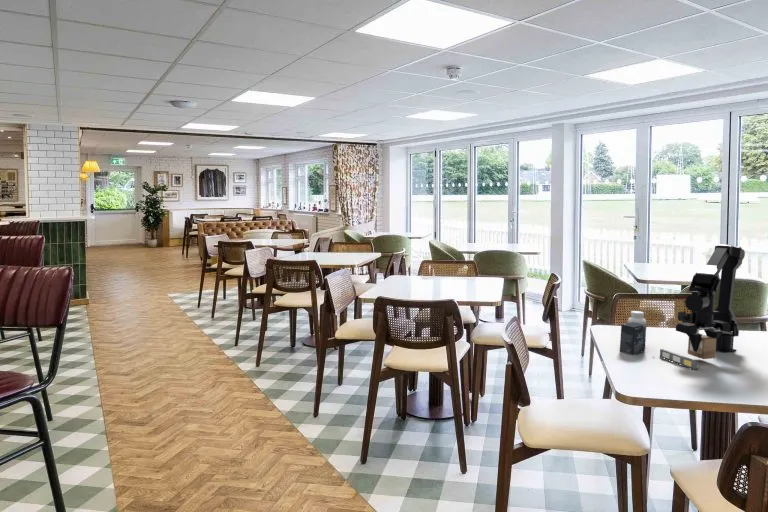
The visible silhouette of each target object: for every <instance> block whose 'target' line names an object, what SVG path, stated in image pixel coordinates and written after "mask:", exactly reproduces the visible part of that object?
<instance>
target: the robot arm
mask: <svg viewBox="0 0 768 512" xmlns="http://www.w3.org/2000/svg"><path fill="white" fill-rule="evenodd" d="M745 255H746V250H745V249H743V248H742V247H741V246H734V245H730V244H724V243H723V244H720V243H718V244H716V245H715V247H714V251H713V253H712V254H711V256H710V257H709V260H708V261H707V263H706V264H705V266H703V267H701V268H700V267H699V269H698V270H697V271H696V272H695V273H694V275H693V276H692V279H691V282H690V285H689V288H688V291H689V292H691V294H690V295H688V296H686V298H685V301H684V303H685V307H686V308H687V309H688V310H689V311H690V313H687V312H686V311H679V312H678V314H677V319H678V321H679V322H677V323H676V325H675V331H676V332H679V333H683V334H684V335H687V337H688V340H689V339H690V341H691V344H692V347H693V350H694V351H695V352H697V350H698V347H699V344H700V340H701V336H702V335H703V334H702V333H700V331H702V330H704V333H705V335H706V336H709V337H713V338H716V351H718V352H722V353H729V352H731V353H732V352H737V349H736V348H734V337H739V335H740V328H739V324H738V322H737V315H736V313H735V312H734V311H733V310H734V309H733V302H734V301H733V300H734V292H735V282H736V274H737V273H736V272H737V270H738V269H739V268H740V266H741V265H742V264H743V260H744V259H745ZM720 272H721V274H720ZM719 274H720V275H719ZM718 289H719V291H718ZM716 292H718V301H717V307H716V308H715V294H716Z"/></svg>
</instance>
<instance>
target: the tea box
mask: <svg viewBox="0 0 768 512" xmlns="http://www.w3.org/2000/svg"><path fill="white" fill-rule="evenodd" d="M687 345H688V346H687V354H688V355H690V356H693V357H696V358H698V359H702V360H710V359H715V358H716V351H717V350H716V338H713V337H709V336H706V334H702V336H701V340H700V344H699V347H698V350H697V352H695V351H694V350H693V347H692V344H691V341H690V339H689V338H688V344H687Z"/></svg>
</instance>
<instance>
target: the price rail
mask: <svg viewBox="0 0 768 512" xmlns="http://www.w3.org/2000/svg"><path fill="white" fill-rule="evenodd" d="M661 357H662V358H661ZM659 358H661V359H663V358H665V359H664V360H666V359H667V360H666V361H669V360H670V361H669V362H671V361H673V362H672V363H674V362H675V363H674V364H677V363H678V364H677V365H679V364H681V365H680V366H682V365H683V367H685V366H686V368H687V367H688V369H690V368H691V369H690V370H693V369H694V370H693V371H700V370H701V367H698V362H699V361H698V360H696V359H692V358H690V357H687V356H684V355H680V354H678V353H676V352H672V351H669V350H667V349H664V348H660V350H659ZM699 369H700V370H699Z"/></svg>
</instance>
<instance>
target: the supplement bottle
mask: <svg viewBox="0 0 768 512" xmlns="http://www.w3.org/2000/svg"><path fill="white" fill-rule="evenodd" d="M630 316H631V317H628V319H627V323H631V322H636V323H641V324H645V325H646V326H647V319H645V318H644V316H645V312H644V311H640V310H631V311H630ZM645 342H646V339H645Z"/></svg>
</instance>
